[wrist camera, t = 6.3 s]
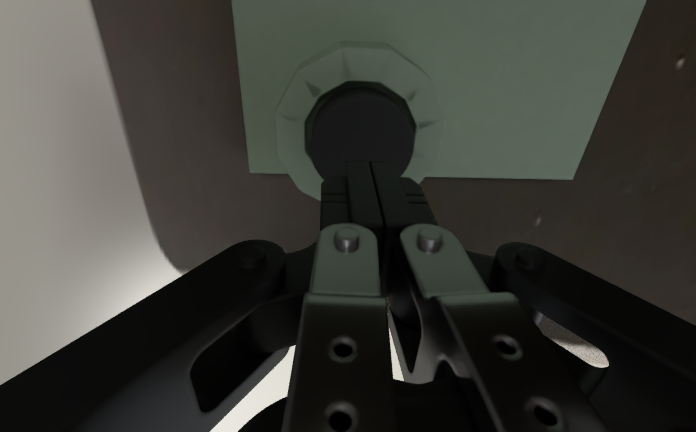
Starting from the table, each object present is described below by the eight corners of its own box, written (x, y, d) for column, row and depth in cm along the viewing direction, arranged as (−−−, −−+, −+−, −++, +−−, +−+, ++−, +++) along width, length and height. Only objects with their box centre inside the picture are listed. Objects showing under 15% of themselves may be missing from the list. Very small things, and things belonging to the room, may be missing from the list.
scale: (255, 178, 19) (245, 208, 17) (213, -262, 11) (181, -329, 9) (552, 184, 20) (584, 213, 18) (705, -216, 12) (801, -264, 10)
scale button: (311, 177, 17) (310, 194, 15) (311, 84, 15) (309, 95, 13) (400, 179, 17) (407, 196, 16) (412, 88, 15) (421, 99, 13)
